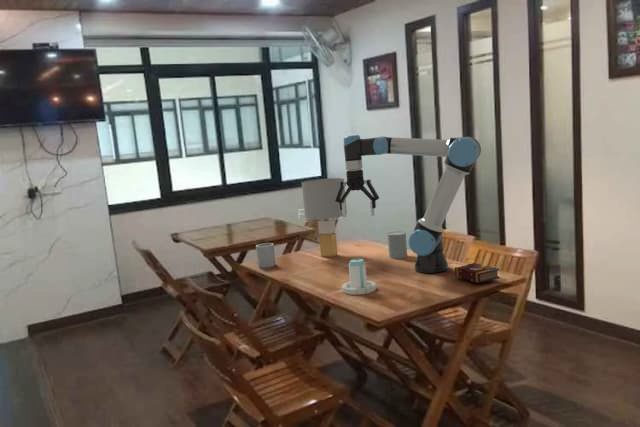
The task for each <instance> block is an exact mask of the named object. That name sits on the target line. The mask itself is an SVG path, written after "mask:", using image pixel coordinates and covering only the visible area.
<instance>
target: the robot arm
mask: <svg viewBox="0 0 640 427" xmlns="http://www.w3.org/2000/svg"><path fill="white" fill-rule="evenodd" d="M343 150H344V163H345V170H346V173H345V174H346V181H345V180H344V181H342V182H341V183H340V189H339V192H338V195H337V197H336V200H335V201H336V202H339V203H340V209H341V210H342V213H343V216H342V218H345V217H347V215H346V210H347V206H346V207H345V202H343V201H344V200H345V199H347V198H348V196H349V194H350V193H351V192H352V191H361V192H362V193H363V194H364V195H365V196H367V197H368V198H369V200H370V202H369V206H370V216H371V217H374V216H375V209H376V207H377V204H376V201H378V200H379V199H380V196H379V195H378V193H377V191H376V190H375V188H374V186H373V185H372V180H371V179H365V180H364V170H363V168H364V167H363V157H365V156H376V155H377V156H380V155H386V154H387V155H388V154H389V155H391V154H393V155H407V156H408V155H410V156H423V157H426V156H427V157H441V158H445V160H444V162H443V164H444V166H445V168H444V170H443V173H442V174H441V177H440V180H439V182H438V184H437V186H436V189H435V191H434V193H433V196H432V197H431V199H430V201H429V205H428V206H427V208H426V210H425V213H424V215H423V217H422V218H419V219H418V220H417V221H416V222H415V226H414V229H413V231H412V232H411V234H409V238H408V245H409V246H408V247H409V248H410V250H411V251H412V252H413V253H414V254H416V255H417V256H416V259H415V263H414V270H415V272H418V273H422V274H423V273H424V274H429V273H430V274H433V273H434V274H435V273H436V274H437V273H441V272H445V271H447V270H449V264H448V261H447V259H446V255H445V254H444V244H443V243H444V242H443V233H444V228H443V226H442V225H443V224H444V222H445V219H446V217H447V215H448V212H449V211H450V208H451V206H452V204H453V202H454V200H455V199H456V195H457V193H458V191H459V189H460V187H461V184H462V183H463V180H464V178H465V177H466V176H467V175H470V174H471V172H472V170H473V167H474V166H475V164H476V161H477V160H478V159H479V157H480V156H481V152H482V147H481V144H480V142H479V141H478V140H477V139H476V138H475V137H472V136H461V137H450V138H448V139H437V138H436V139H434V138H416V137H415V138H413V137H411V138H410V137H391V136H389V137H387V136H378V137H377V136H376V137H370V138H361V136H360V135H359V134H357V135H356V134H355V135H346V136H344V137H343ZM346 185H347V186H348V188H347V189H346V190H345V194H344V195H343V196H342V198H341V195H342V192H343V190H344V187H346ZM364 185H366V186H367V187H365V186H364ZM367 188H368V189H369V190H370V192H369V190H368V189H367ZM340 198H341V199H340Z"/></svg>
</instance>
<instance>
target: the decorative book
mask: <svg viewBox="0 0 640 427" xmlns="http://www.w3.org/2000/svg"><path fill="white" fill-rule="evenodd" d="M499 271H500V268H497V267H494V266H493V267H491V266H488V265H487V264H484V265H482V264H479V263H476V262H471V263H467V264H466V265H460V266H456V267H455V268H454V274H455V277H456V278H459V279H460V280H467V281H470V282H471V283H478V284H481V283H486V282H489V281H495V280H498V279H499V280H500V279H501V278H500V276H499V275H498V272H499Z"/></svg>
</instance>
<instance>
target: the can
mask: <svg viewBox="0 0 640 427" xmlns="http://www.w3.org/2000/svg"><path fill="white" fill-rule="evenodd" d="M348 273H349V282H350V287H351V288H354V289H358V288H365V287H367V280H368V278H367V268H366V262H365V260H364V259H363V258H353V259H350V260H349V263H348Z"/></svg>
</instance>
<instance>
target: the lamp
mask: <svg viewBox="0 0 640 427" xmlns="http://www.w3.org/2000/svg"><path fill="white" fill-rule="evenodd" d="M342 181H344V182H345V178H341V177H339V178H338V177H335V178H322V179H321V178H319V179H313V180H305V181H301V190H302V200H303V201H302V202H303V210H304V212H303V213H304V218H305V219H307V220H318V221H317V224H318V233H319V234H318V237H319V247H320V249H319V250H320V257H327V258H328V257H329V258H333V257H336V256H338V245H337V244H338V243H337V233H336V222H335V221H336V220H335V218H342V217H343V213H342V210H341V209H340V203H339V202H336V201H335V200H336V197H337V195H338V192H339V189H340V183H341V182H342ZM345 187H346V186H345ZM345 187H344V190H343V192H342V195H341V198H342V196H343V195H344V194H345V192H346V188H345ZM341 198H340V199H341ZM346 199H347V198H346ZM346 199H345V200H344V201H343V202H345V207H346V208H347V200H346ZM347 210H348V209H346V216H347V214H348V212H347Z"/></svg>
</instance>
